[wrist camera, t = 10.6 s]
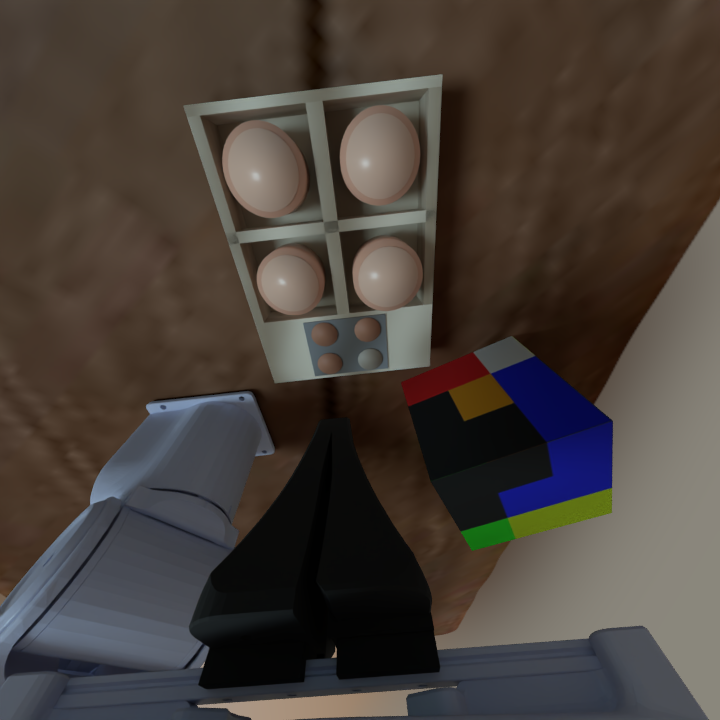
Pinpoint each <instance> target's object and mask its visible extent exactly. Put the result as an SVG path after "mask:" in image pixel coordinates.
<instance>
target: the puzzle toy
mask: <svg viewBox="0 0 720 720" xmlns="http://www.w3.org/2000/svg"><path fill="white" fill-rule="evenodd" d="M401 384H402V387H403V390H404V394H405V397H406V400H407V404H408V407H409V410H410V414H411V417H412V420H413V424H414V427H415V430H416V434H417V437H418V440H419V444H420V447H421V450H422V454H423V457H424V460H425V464H426V467H427V470H428V474H429V477H430V480H431V483H432V484H433V486H434V488H435V489H436V491H437V493H438V494H439V496H440V498H441V499H442V501H443V503H444V504H445V506H446V508H447V509H448V511H449V513H450V514H451V516H452V518H453V519H454V521H455V523H456V524H457V526H458V528H459V529H460V531H461V533H462V534H463V536H464V538H465V539H466V541H467V543H468V545H469V546H470V548H471V550H472V551H473V550H477V549H480V548H484V547H488V546H491V545H495V544H499V543H502V542H506V541H510V540H513V539H517V538H521V537H524V536H528V535H532V534H536V533H539V532H543V531H547V530H550V529H554V528H558V527H561V526H565V525H568V524H572V523H576V522H580V521H583V520H587V519H591V518H594V517H598V516H602V515H605V514H609V513H612V444H613V440H612V438H613V421H612V420H611V419H610V418H609V417H608V416H606V415H605V414H604V413H603V412H601V411H600V410H599V409H598V408H597V407H596V406H595V405H593V404H592V403H591V402H590V401H589V400H587V399H586V398H585V397H584V396H583V395H581V394H580V393H579V392H578V391H577V390H576V389H574V388H573V387H572V386H571V385H570V384H568V383H567V382H566V381H565V380H564V379H562V378H561V377H560V376H559V375H558V374H557V373H555V372H554V371H553V370H552V369H551V368H549V367H548V366H547V365H546V364H545V363H543V362H542V361H541V360H540V359H539V358H538V357H536V356H535V355H534V354H533V353H532V352H530V351H529V350H528V349H527V348H526V347H524V346H523V345H522V344H521V343H520V342H519V341H517V340H516V339H515V338H514V337H513V336H510V337H508V338H506V339H503V340H501V341H499V342H496V343H494V344H491V345H489V346H487V347H484V348H482V349H480V350H477V351H475V352H472V353H470V354H468V355H465V356H463V357H460V358H458V359H456V360H453V361H451V362H449V363H446V364H444V365H441V366H439V367H437V368H434V369H432V370H429V371H427V372H425V373H422V374H420V375H418V376H415V377H413V378H410V379H408V380H406V381H403V382H401Z"/></svg>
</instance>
